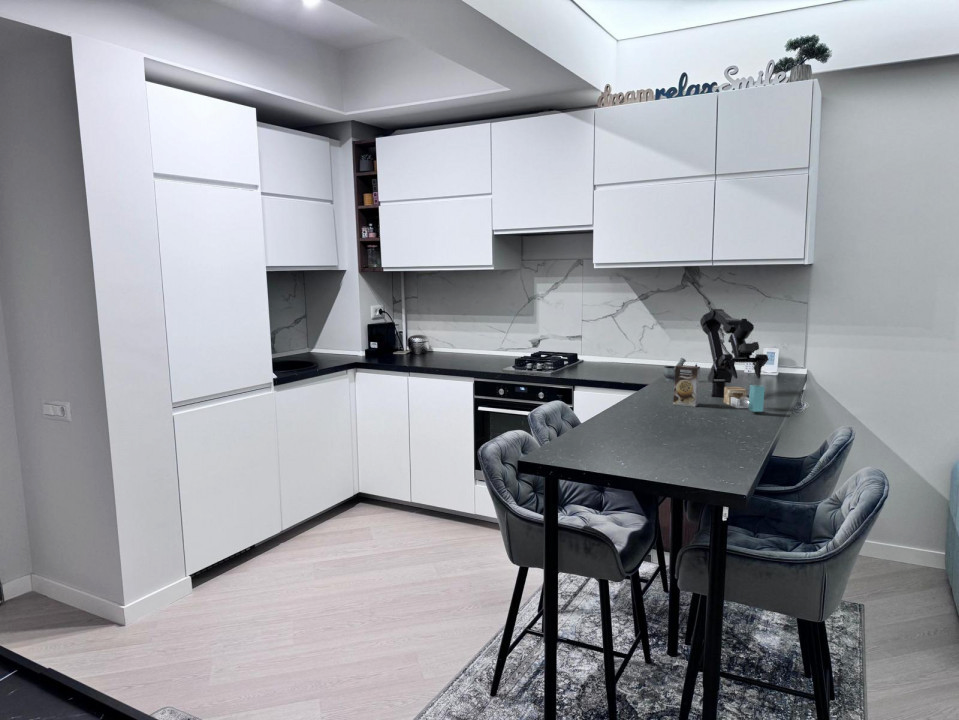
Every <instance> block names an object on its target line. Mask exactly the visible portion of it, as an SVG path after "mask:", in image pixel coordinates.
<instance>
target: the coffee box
mask: <svg viewBox="0 0 959 720" xmlns="http://www.w3.org/2000/svg"><path fill="white" fill-rule="evenodd" d="M676 365H677V364H676ZM676 365H675V382H673V383H674V384H673V385H674V386H673V399H672V400H673V401H672V404H673V405H676V406H684V407H697V406H698V404H699V403H698V401H699V388H700V387H699V385H700V371H701V367H700V366H696V365H685V364H683V365H677V366H676Z"/></svg>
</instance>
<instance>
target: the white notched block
mask: <svg viewBox="0 0 959 720" xmlns="http://www.w3.org/2000/svg"><path fill="white" fill-rule="evenodd" d="M746 398H748V399H749V397H747V396H746ZM730 406H731V407H734V408H735V409H748V407H746V406H744V405H742V404H740V400H739V399H737V398H735V397H731V405H730Z"/></svg>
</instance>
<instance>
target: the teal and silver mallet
mask: <svg viewBox="0 0 959 720" xmlns="http://www.w3.org/2000/svg"><path fill="white" fill-rule="evenodd" d="M765 390H766V386H764V385H761V384H749V394H748V395H749V396H748V397H747V396H746V397H747V398H746V397H740V398H739V400H740V404H742V405H744V406H746V407H748V408H747V409H748V411H751V412H764V403H765V402H764V401H765ZM748 398H749V399H748Z"/></svg>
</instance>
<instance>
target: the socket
mask: <svg viewBox="0 0 959 720" xmlns="http://www.w3.org/2000/svg"><path fill="white" fill-rule="evenodd" d="M731 397H735V398H737V399H739V398H740V397H747V389H745V388H744V387H742V386H726V387H725V389H724V397H723V403H724V404H726V405H729V406H731Z"/></svg>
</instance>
